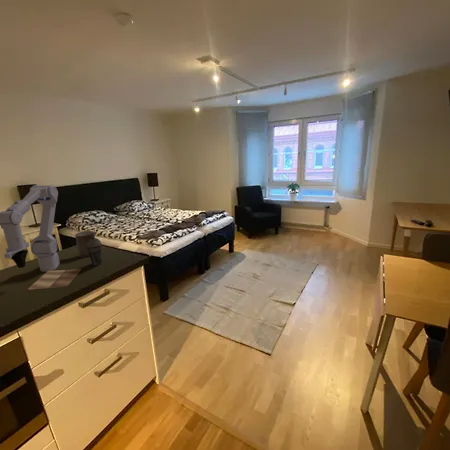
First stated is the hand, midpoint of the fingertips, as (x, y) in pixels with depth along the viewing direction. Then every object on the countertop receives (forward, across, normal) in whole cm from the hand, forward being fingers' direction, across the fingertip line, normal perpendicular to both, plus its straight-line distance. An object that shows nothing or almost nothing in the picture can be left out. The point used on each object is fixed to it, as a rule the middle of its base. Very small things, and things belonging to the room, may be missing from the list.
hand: (21, 267), depth 111 cm
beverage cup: (+10, -16, +26) cm, 32 cm away
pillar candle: (+10, -33, +16) cm, 38 cm away
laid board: (+9, -2, +16) cm, 19 cm away
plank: (+9, -2, +8) cm, 12 cm away
